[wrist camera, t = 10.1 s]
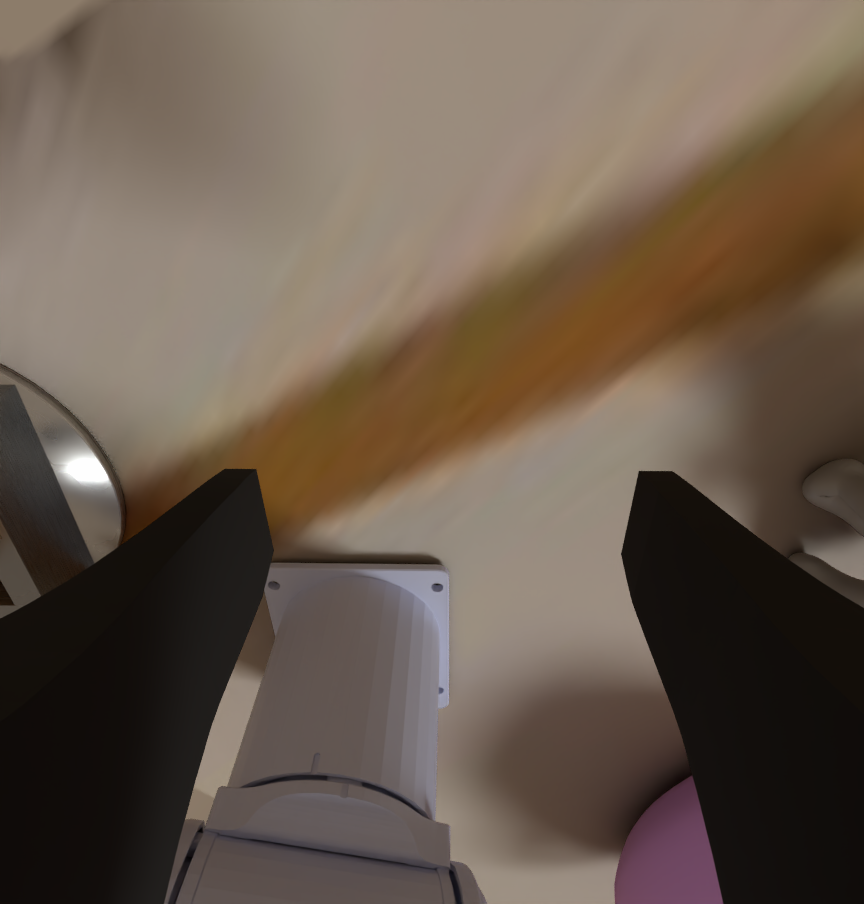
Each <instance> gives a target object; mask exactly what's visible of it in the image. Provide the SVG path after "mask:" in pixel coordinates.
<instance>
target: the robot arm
mask: <svg viewBox="0 0 864 904" xmlns="http://www.w3.org/2000/svg"><path fill="white" fill-rule="evenodd" d="M273 552H274V549H273V545H272V540H271V536H270V531H269V526H268V522H267V517H266V512H265V508H264V503H263V499H262V494H261V489H260V485H259V480H258V475H257V471H256V469H224V470H223V471H221V472H220V473H218V474H216V475H215V476H214V477H212V478H211V479H210V480H208V481H207V482H205V483H204V484H203V485H201V486H200V487H199V488H198V489H196V490H195V491H194V492H192V493H191V494H190V495H188V496H187V497H186V498H184V499H183V500H182V501H181V502H179V503H178V504H177V505H175V506H174V507H173V508H171V509H170V510H169V511H167V512H166V513H165V514H163V515H162V516H161V517H159V518H158V519H157V520H155V521H154V522H153V523H151V524H150V525H149V526H147V527H146V528H145V529H143V530H142V531H141V532H139V533H138V534H136V535H135V536H133V537H132V538H131V539H129V540H128V541H126V542H125V543H123V544H122V545H120V546H119V547H117V548H116V549H115V550H113V551H112V552H110V553H109V554H107V555H106V556H104V557H103V558H102V559H100V560H99V561H97V562H96V563H94V564H93V565H91V566H90V567H88V568H87V569H85V570H84V571H82V572H81V573H79V574H77V575H76V576H74V577H73V578H71V579H69V580H68V581H66V582H64V583H63V584H61V585H59V586H58V587H56V588H54V589H53V590H51V591H49V592H47V593H46V594H44V595H42V596H41V597H39V598H37V599H35V600H34V601H32V602H30V603H29V604H27V605H25V606H23V607H21V608H19V609H18V610H16V611H14V612H12V613H10V614H8V615H6V616H4V617H2V618H0V904H487V902H486V900H485V897H484V895H483V893H482V892H481V890H480V888H479V887H478V885H477V882H476V880H475V877H474V875H473V873H472V872H471V870H470V869H469V868H468V866H467V865H465V864H463V863H460V862H455V861H450V826H449V825H448V824H444V823H439V822H436V821H435V814H436V775H437V735H438V709H439V708H444V707H446V706H447V705H448V704H449V571H448V569H447V568H446V567H444V566H442V565H437V564H347V563H271V560H272V556H273ZM621 555H622V560H623V565H624V569H625V574H626V579H627V583H628V587H629V591H630V595H631V599H632V603H633V606H634V608H635V611H636V614H637V617H638V619H639V622H640V625H641V627H642V630H643V633H644V635H645V638H646V641H647V643H648V646H649V649H650V651H651V654H652V657H653V659H654V662H655V664H656V667H657V670H658V672H659V675H660V677H661V680H662V683H663V685H664V688H665V691H666V693H667V696H668V698H669V701H670V704H671V706H672V709H673V712H674V715H675V718H676V721H677V724H678V727H679V730H680V733H681V736H682V739H683V743H684V746H685V750H686V754H687V757H688V761H689V765H690V769H691V772H692V776H693V780H694V784H695V787H696V791H697V795H698V799H699V803H700V807H701V811H702V815H703V819H704V823H705V827H706V831H707V835H708V839H709V843H710V847H711V852H712V856H713V860H714V864H715V869H716V873H717V878H718V882H719V887H720V891H721V896H722V900H723V904H864V608H863V607H861V606H860V605H858V604H856V603H855V602H853V601H851V600H850V599H848V598H846V597H845V596H843V595H841V594H840V593H838V592H837V591H835V590H833V589H832V588H830V587H829V586H827V585H826V584H824V583H822V582H821V581H819V580H818V579H816V578H815V577H814V576H812V575H811V574H809V573H808V572H806V571H805V570H803V569H802V568H800V567H799V566H797V565H796V564H795V563H793V562H792V561H790V560H789V559H787V558H786V557H784V556H783V555H782V554H780V553H779V552H777V551H776V550H775V549H773V548H772V547H771V546H769V545H768V544H766V543H765V542H764V541H762V540H761V539H760V538H758V537H757V536H756V535H754V534H753V533H752V532H750V531H749V530H748V529H747V528H745V527H744V526H743V525H741V524H740V523H739V522H737V521H736V520H735V519H734V518H732V517H731V516H730V515H728V514H727V513H726V512H725V511H723V510H722V509H721V508H720V507H718V506H717V505H716V504H715V503H713V502H712V501H711V500H709V499H708V498H707V497H706V496H704V495H703V494H702V493H701V492H699V491H698V490H697V489H696V488H694V487H693V486H692V485H690V484H689V483H688V482H687V481H685V480H684V479H683V478H681V477H680V476H678V475H677V474H676V473H674V472H673V471H639V473H638V478H637V483H636V487H635V492H634V497H633V501H632V506H631V511H630V515H629V520H628V525H627V530H626V534H625V539H624V544H623V548H622V553H621ZM272 581H275V582H277V583H274V582H272ZM435 583H439V584H441V585H434V584H435ZM263 592H265V596H266V600H267V605H268V609H269V613H270V617H271V621H272V625H273V630H274V634H275V641H274V644H273V647H272V650H271V653H270V656H269V659H268V662H267V665H266V669H265V672H264V675H263V678H262V681H261V684H260V687H259V690H258V693H257V696H256V699H255V702H254V705H253V709H252V712H251V715H250V718H249V721H248V724H247V727H246V730H245V733H244V736H243V739H242V742H241V746H240V749H239V752H238V755H237V758H236V761H235V764H234V767H233V770H232V773H231V776H230V779H229V782H228V786H227V787H225V786H221V787H219V788H218V790H217V793H216V796H215V799H214V802H213V805H212V808H211V811H210V814H209V817H208V820H207V823H206V826H205V824H204V821H202V820H196V819H186V820H185V817H186V814H187V810H188V806H189V802H190V799H191V795H192V791H193V788H194V784H195V780H196V777H197V773H198V770H199V766H200V763H201V760H202V756H203V753H204V749H205V746H206V742H207V739H208V736H209V732H210V729H211V726H212V723H213V720H214V717H215V715H216V712H217V709H218V706H219V703H220V701H221V698H222V696H223V693H224V691H225V688H226V686H227V684H228V681H229V679H230V676H231V674H232V671H233V669H234V666H235V664H236V661H237V659H238V656H239V654H240V652H241V649H242V647H243V644H244V642H245V639H246V637H247V634H248V632H249V629H250V627H251V624H252V622H253V619H254V617H255V614H256V612H257V609H258V606H259V604H260V601H261V599H262V596H263Z"/></svg>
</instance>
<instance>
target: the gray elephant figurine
mask: <svg viewBox="0 0 864 904" xmlns="http://www.w3.org/2000/svg"><path fill="white" fill-rule="evenodd" d="M802 492H803V495H804V497H805V498H806V499H807V500H808V501H809V502H810V503H812V504H813V505H815V506H817V507H819V508H822V509H824V510H826V511H828V512H831V513H833V514H835V515H837V516H839V517H841V518H842V519H843V520H845V521H846V522H848V523H849V524H850V525H851V526H852V527H853V528H854V529H855V530H856V531H858V532H859V533H860V534H861V535H862V536H863V537H864V465H863V464H862V463H861V462H859V461H857V460H854V459H840V460H835V461H832V462H830V463H827V464H825V465H823V466H821V467H820V468H818V469H817V470H816V471H815V472H813V473H812V474H810V475H809V476H808V477H807V478H806V479H805V481H804V482H803V485H802ZM788 559H789V560H790V561H792V562H793V563H795V564H796V565H797V566H799V567H800V568H802V569H803V570H805V571H806V572H808V573H809V574H811V575H812V576H814V577H815V578H816V579H818V580H819V581H821V582H822V583H824V584H826V585H827V586H829V587H830V588H832V589H833V590H835V591H837V592H838V593H840V594H841V595H843V596H845V597H846V598H848V599H850V600H851V601H853V602H855V603H856V604H858V605H860V606H861V607H863V608H864V580H860V579H856V578H853V577H851V576H848V575H846V574H844V573H842V572H841V571H839V570H837V569H835V568H834V567H832V566H830V565H829V564H827V563H826V562H824V561H823V560H821V559H819V558H818V557H815V556H813V555H810V554H806V553H795V554H793V555H791V556H790V557H789V558H788Z"/></svg>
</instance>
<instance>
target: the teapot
mask: <svg viewBox="0 0 864 904" xmlns="http://www.w3.org/2000/svg"><path fill="white" fill-rule="evenodd" d="M614 885H615V904H723V900H722V896H721V891H720V887H719V882H718V878H717V873H716V869H715V864H714V860H713V856H712V852H711V847H710V843H709V839H708V835H707V831H706V827H705V823H704V819H703V815H702V811H701V807H700V803H699V799H698V795H697V791H696V787H695V784H694V780H693V776H690V777H688V778H687V779H685V780H684V781H682V782H680V783H679V784H677V785H676V786H674V787H673V788H671V789H670V790H669V791H667V792H666V793H664V794H663V795H662V796H661V797H660V798H658V799H657V800H656V801H655V802H654V803H653V804H652V805H651V806H650V807H649V808H648V809H647V810H646V811H645V812H644V813H643V814H642V815H641V817H640V818H639V819H638V821H637V822H636V824H635V825H634V827H633V828H632V830H631V832H630V833H629V835H628V837H627V839H626V842H625V845H624V848H623V850H622V853H621V856H620V860H619V864H618V868H617V872H616V878H615V884H614Z"/></svg>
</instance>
